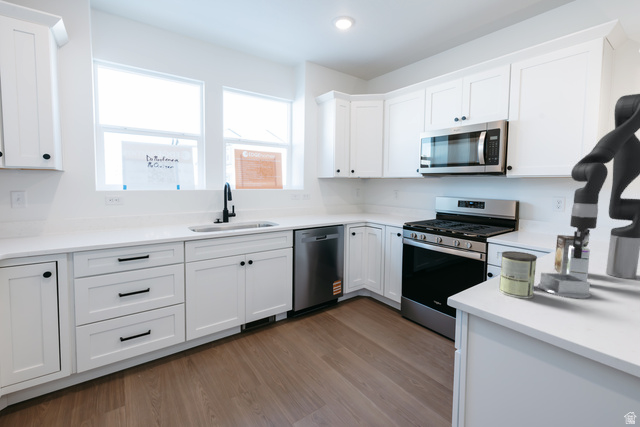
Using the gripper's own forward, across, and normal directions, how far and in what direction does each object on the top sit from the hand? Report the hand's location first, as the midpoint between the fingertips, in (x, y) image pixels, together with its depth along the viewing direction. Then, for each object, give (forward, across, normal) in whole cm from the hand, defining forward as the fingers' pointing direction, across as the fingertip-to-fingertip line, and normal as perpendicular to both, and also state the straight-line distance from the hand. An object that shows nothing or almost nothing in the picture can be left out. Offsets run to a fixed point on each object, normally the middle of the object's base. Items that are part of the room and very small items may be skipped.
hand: (579, 256), depth 117 cm
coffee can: (+12, +31, -12) cm, 35 cm away
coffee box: (+11, -16, -6) cm, 20 cm away
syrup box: (+11, -1, 0) cm, 11 cm away
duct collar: (+11, +14, -2) cm, 18 cm away
